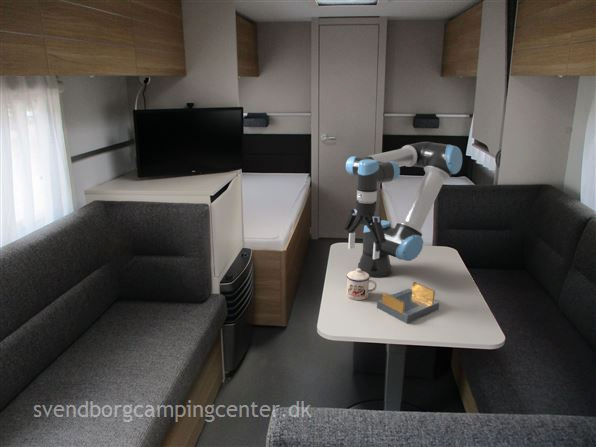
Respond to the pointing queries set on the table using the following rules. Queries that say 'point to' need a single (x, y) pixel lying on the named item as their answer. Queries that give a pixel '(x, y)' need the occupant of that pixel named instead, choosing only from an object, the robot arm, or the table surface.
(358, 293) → the teacup with lid
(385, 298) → the grey tray
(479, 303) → the table surface
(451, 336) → the table surface
